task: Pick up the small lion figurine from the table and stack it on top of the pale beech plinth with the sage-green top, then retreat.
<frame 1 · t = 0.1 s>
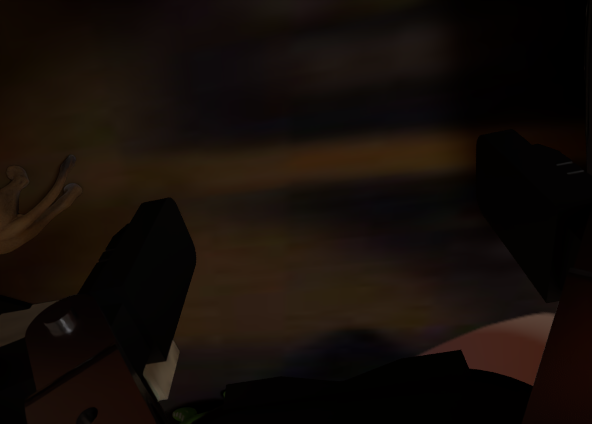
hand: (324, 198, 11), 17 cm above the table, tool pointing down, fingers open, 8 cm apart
turtle holder: (240, 415, 48), on the table
lion figurine: (11, 206, 32), on the table
plinth: (96, 331, 39), on the table
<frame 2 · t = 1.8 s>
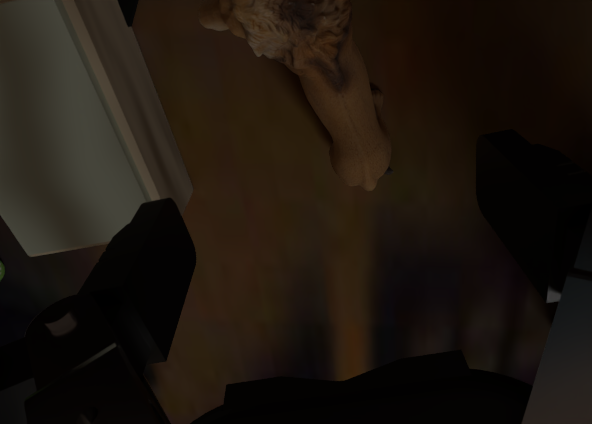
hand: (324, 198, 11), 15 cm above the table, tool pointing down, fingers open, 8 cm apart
lion figurine: (320, 67, 24), on the table
plinth: (86, 109, 25), on the table
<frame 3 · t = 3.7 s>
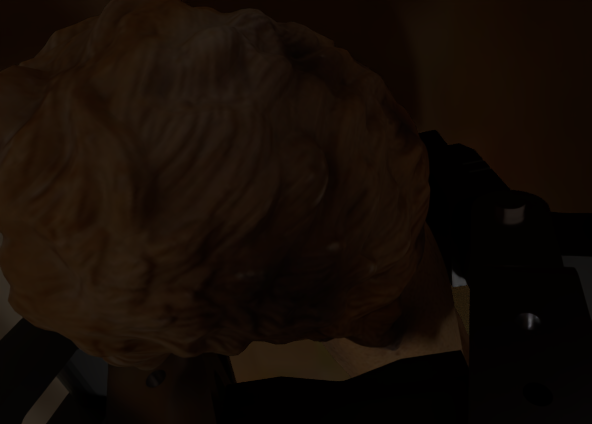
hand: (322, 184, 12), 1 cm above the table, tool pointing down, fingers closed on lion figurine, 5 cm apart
lion figurine: (330, 191, 13), on the table, touching gripper
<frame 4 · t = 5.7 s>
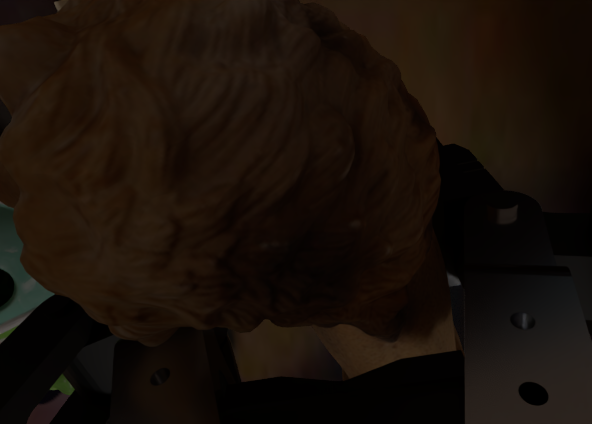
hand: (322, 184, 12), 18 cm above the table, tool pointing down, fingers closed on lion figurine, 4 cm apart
turtle holder: (46, 233, 35), on the table
lion figurine: (326, 187, 13), point 17 cm above the table, touching gripper
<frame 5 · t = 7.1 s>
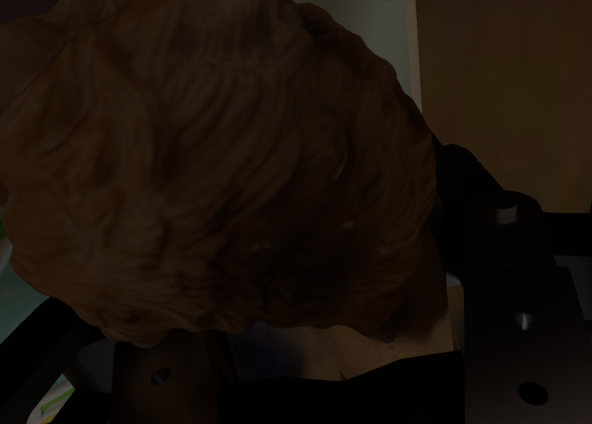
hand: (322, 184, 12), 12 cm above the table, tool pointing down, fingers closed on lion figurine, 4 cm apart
turtle holder: (92, 253, 29), on the table
lion figurine: (324, 187, 13), point 11 cm above the table, touching gripper
plinth: (309, 68, 22), on the table
when the fingers open (8 cm above the table, at t = 8.3 s): lion figurine drops 1 cm, resting on plinth.
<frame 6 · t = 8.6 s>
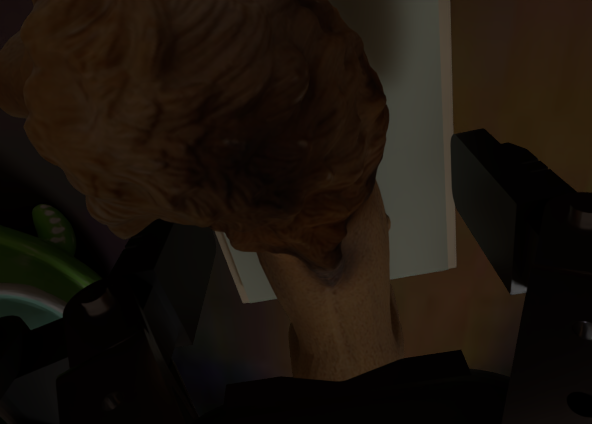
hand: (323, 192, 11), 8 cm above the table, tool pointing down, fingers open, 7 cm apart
turtle holder: (62, 304, 25), on the table
lion figurine: (296, 162, 14), point 5 cm above the table, touching plinth
plinth: (311, 99, 18), on the table
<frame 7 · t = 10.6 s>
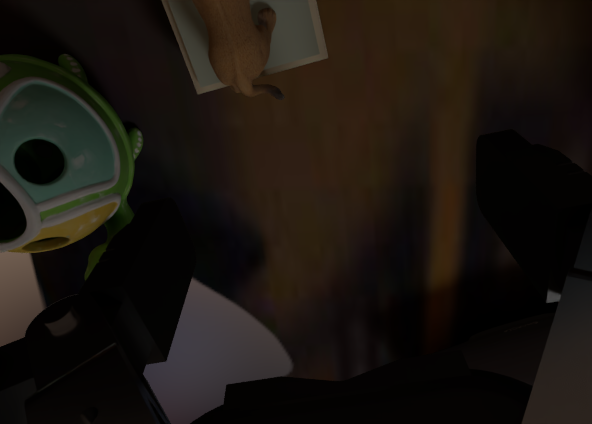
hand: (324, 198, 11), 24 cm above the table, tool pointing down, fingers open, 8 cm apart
turtle holder: (79, 144, 35), on the table
bluetooth speaker: (512, 330, 49), on the table
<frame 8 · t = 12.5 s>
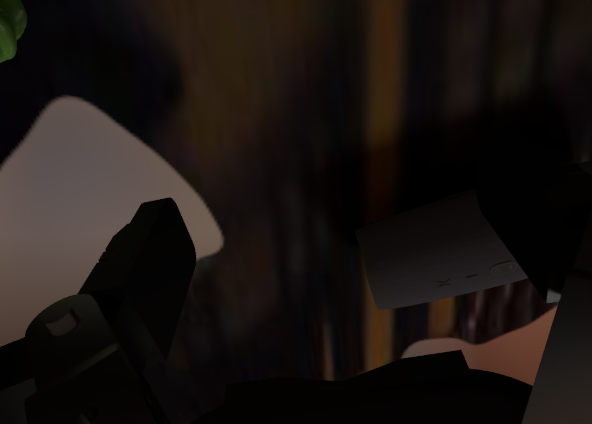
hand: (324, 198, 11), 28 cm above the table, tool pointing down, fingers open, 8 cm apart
bluetooth speaker: (463, 207, 45), on the table
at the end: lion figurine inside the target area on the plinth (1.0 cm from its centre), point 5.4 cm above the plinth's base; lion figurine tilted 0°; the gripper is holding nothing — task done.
